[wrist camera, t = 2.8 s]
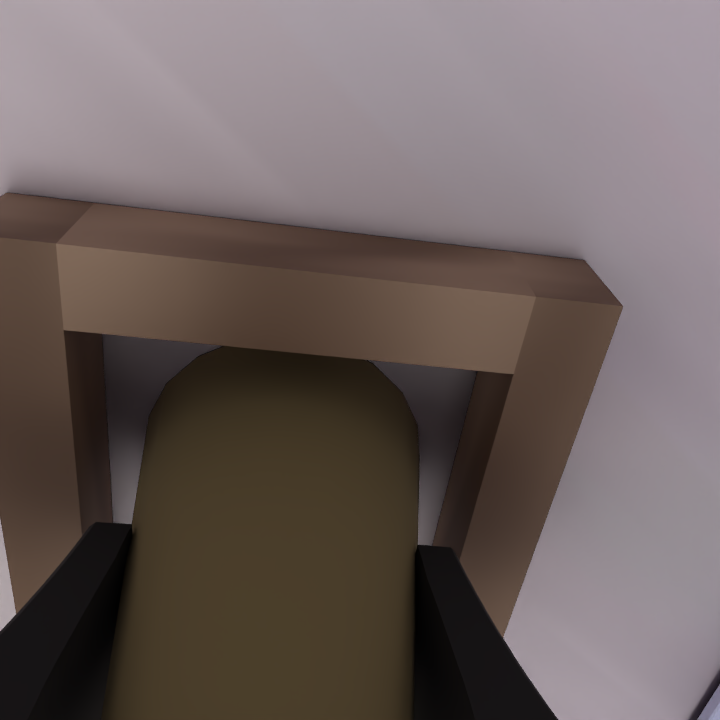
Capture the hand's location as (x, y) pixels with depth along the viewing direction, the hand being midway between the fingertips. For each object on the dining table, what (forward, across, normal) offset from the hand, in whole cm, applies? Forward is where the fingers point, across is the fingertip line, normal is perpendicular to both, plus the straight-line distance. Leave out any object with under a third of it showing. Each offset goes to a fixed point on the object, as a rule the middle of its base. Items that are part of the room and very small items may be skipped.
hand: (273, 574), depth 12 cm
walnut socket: (+3, 0, 0) cm, 3 cm away
